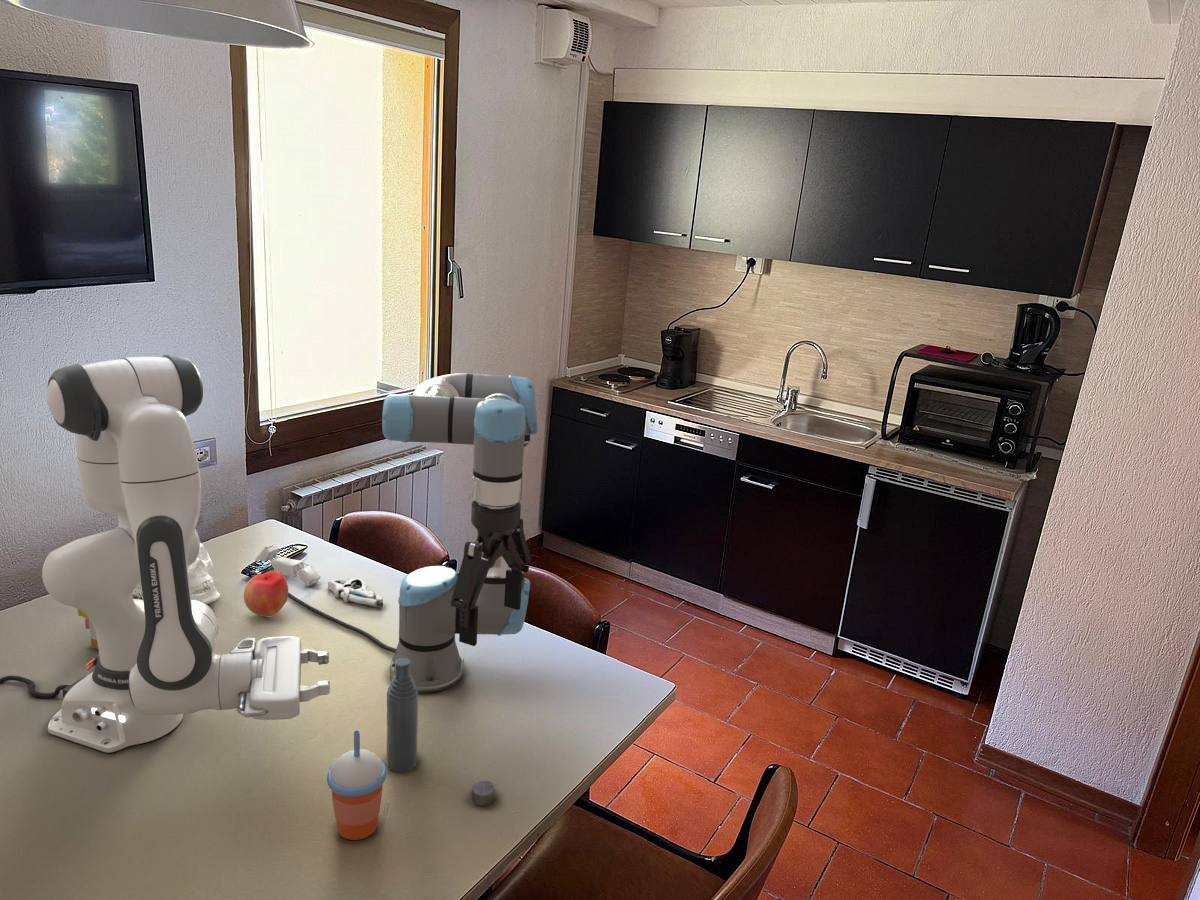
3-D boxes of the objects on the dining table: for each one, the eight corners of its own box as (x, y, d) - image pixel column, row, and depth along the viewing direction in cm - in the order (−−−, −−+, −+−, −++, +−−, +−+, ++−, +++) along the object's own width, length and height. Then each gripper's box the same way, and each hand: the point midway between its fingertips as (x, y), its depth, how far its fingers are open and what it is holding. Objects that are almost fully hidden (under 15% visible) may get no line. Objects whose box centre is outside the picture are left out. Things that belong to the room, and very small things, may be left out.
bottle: (387, 753, 157) (387, 653, 150) (417, 752, 158) (418, 653, 152) (385, 772, 152) (386, 670, 145) (416, 771, 153) (418, 669, 146)
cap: (488, 808, 145) (489, 797, 144) (468, 803, 146) (468, 792, 145) (497, 794, 149) (498, 783, 148) (477, 788, 150) (477, 778, 149)
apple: (273, 600, 207) (272, 562, 204) (297, 613, 202) (296, 575, 199) (237, 614, 200) (234, 575, 197) (261, 628, 194) (259, 588, 191)
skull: (199, 617, 197) (196, 553, 193) (122, 598, 203) (118, 535, 198) (238, 594, 209) (237, 534, 205) (165, 577, 215) (162, 518, 211)
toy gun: (401, 592, 212) (372, 604, 203) (400, 601, 212) (371, 613, 204) (347, 571, 220) (317, 582, 212) (347, 580, 221) (317, 592, 212)
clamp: (253, 565, 223) (254, 542, 221) (265, 560, 226) (266, 537, 224) (309, 593, 215) (310, 569, 213) (320, 588, 218) (321, 564, 216)
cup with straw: (370, 852, 133) (370, 755, 128) (317, 840, 135) (314, 743, 130) (395, 813, 142) (396, 720, 137) (345, 802, 144) (343, 710, 138)
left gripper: (234, 699, 130) (329, 689, 135) (245, 632, 149) (328, 626, 153) (236, 734, 132) (330, 724, 136) (246, 664, 151) (328, 657, 155)
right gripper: (515, 474, 143) (509, 588, 150) (428, 521, 121) (425, 652, 128) (555, 483, 141) (547, 599, 147) (473, 532, 119) (468, 666, 125)
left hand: (329, 671), depth 145 cm, fingers open, 8 cm apart
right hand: (491, 624), depth 137 cm, fingers open, 13 cm apart
